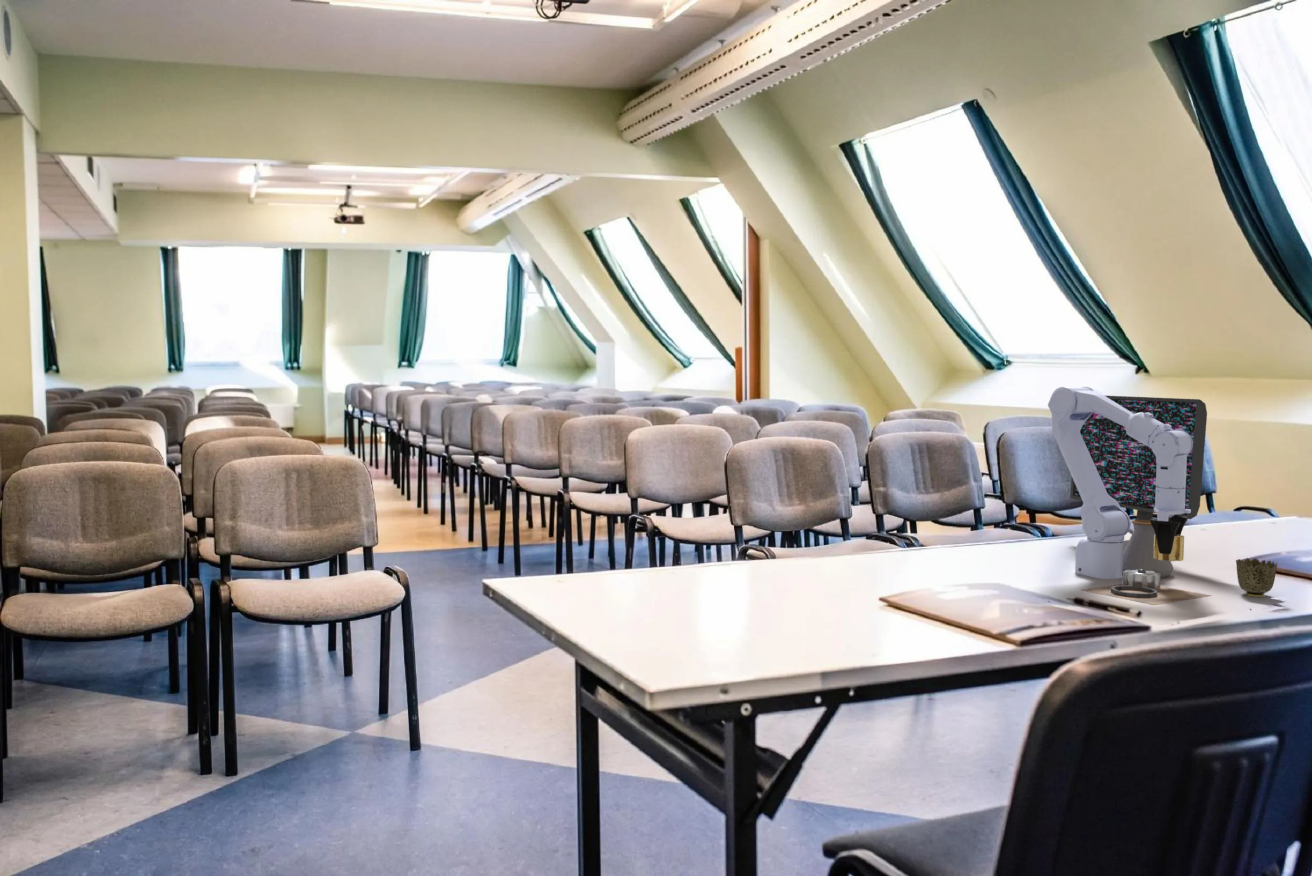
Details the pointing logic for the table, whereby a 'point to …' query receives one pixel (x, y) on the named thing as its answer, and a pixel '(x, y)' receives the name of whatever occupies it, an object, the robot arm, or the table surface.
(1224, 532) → the table surface
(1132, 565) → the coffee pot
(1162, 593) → the carrier plate
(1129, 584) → the sun gear
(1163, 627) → the table surface
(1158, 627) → the table surface
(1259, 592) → the cup
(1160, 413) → the computer monitor
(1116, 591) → the ring
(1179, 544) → the planet gear
